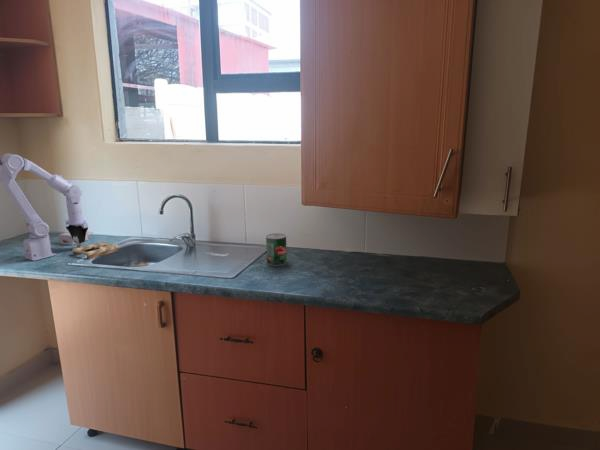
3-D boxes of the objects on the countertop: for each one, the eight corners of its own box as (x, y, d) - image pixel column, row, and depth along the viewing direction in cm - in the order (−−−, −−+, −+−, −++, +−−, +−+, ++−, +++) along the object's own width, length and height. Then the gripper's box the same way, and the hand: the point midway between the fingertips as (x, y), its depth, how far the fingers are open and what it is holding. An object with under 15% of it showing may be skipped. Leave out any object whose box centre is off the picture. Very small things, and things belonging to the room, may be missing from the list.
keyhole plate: (88, 259, 184) (88, 253, 183) (72, 254, 190) (72, 249, 190) (118, 250, 195) (118, 245, 194) (102, 247, 201) (102, 241, 201)
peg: (77, 251, 196) (75, 238, 194) (71, 249, 199) (69, 236, 197) (88, 248, 200) (87, 235, 199) (82, 246, 203) (80, 233, 201)
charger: (98, 237, 219) (73, 245, 205) (85, 236, 222) (58, 244, 209) (97, 228, 218) (71, 235, 204) (83, 227, 221) (57, 234, 208)
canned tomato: (284, 266, 170) (283, 238, 167) (264, 265, 171) (263, 238, 169) (288, 260, 177) (288, 233, 175) (269, 259, 179) (269, 233, 176)
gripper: (92, 212, 195) (96, 241, 198) (74, 208, 203) (78, 237, 206) (77, 214, 189) (81, 245, 192) (59, 211, 197) (63, 241, 200)
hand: (79, 241), depth 198 cm, fingers closed on peg, 4 cm apart
